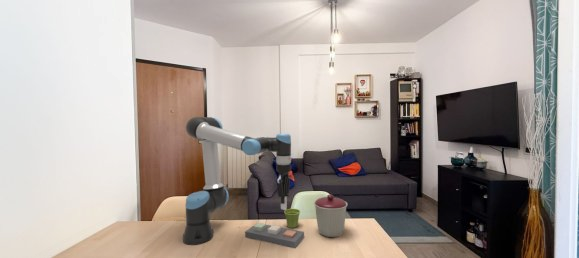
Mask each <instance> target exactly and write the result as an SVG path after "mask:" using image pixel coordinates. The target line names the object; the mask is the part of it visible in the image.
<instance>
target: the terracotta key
mask: <svg viewBox="0 0 579 258" xmlns="http://www.w3.org/2000/svg"><path fill="white" fill-rule="evenodd" d="M295 235H296V231H291V230H287V231H286V232H285V233H284V234H283V236H285V237H290V238H293V237H294V236H295Z"/></svg>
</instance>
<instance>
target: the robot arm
mask: <svg viewBox="0 0 579 258" xmlns="http://www.w3.org/2000/svg"><path fill="white" fill-rule="evenodd" d="M185 131H186V133H187V135H188V136H190V137H191V138H193V139H197V140H198V142H199V143H200V144H201V148H202V150H201V151H202V159H203V160H202V161H203V171H204V182H205V185H204V186H203V188H202V189H203V190H199V191H194V192H193V193H190V194H188V195H187V197H186V198H185V220H186V221H185V222H186V223H185V224H186V225H185V227H184V228H185V229H184V233H183V235H182V242H183V243H184V244H186V245H191V246H193V245H195V246H196V245H200V244H204V243H207V242H209V241H210V240H212V239H213V237H214V230H213V227H212V223H211V221H210V220H211V218H210V214H212V213H213V212H215V211H217V210H219V209H222V208H223V207H224V206H226V205H227V203H228V201H229V198H230V196H229V191H228V190H227V188H226V187H225V185H224V184H223V183H222V182H221V181H222V180H221V169H220V167H221V166H220V159H219V147H218V146H219V145H218V144H220V145H223V146H225V147H229V148H231V149H234V150H235V149H236V150H238V151H241V152H243V153H244V154H245V155H247V156H255V155H259V154H263V153H268V152H269V153H272V152H273V153H276V155H275V156H276V160H275V161H276V162H275V163H276V167H275V168H276V172H277V173H278V178H277V179H275V182H276V187H277V194H278V197H279V198H280V210H283V211H285V210H287V209H288V206H287V205H288V204H287V202H288V201H287V199H288V198H287V197H290V196H289V193H290V185H291V184H290V183H291V178H292V175H290V172H291V171H292V164H291V163H292V138H291V135H290V134H289V133H277V134H276V136H275V137H268V136H267V137H265V136H260V137H259V136H258V137H255V138H254V137H251V136H247V135H244V134H241V133H237V132H234V131H230V130H227V129H223V125H222V122H221V121H220V120H219V119H218V118H216V117H211V116H210V117H209V116H208V117H207V116H206V117H205V116H195V117H191V118H190V119H189V120H187V122H186V125H185Z"/></svg>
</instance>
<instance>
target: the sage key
mask: <svg viewBox="0 0 579 258" xmlns="http://www.w3.org/2000/svg"><path fill="white" fill-rule="evenodd" d="M255 224H256V225H255ZM255 224H253V225H252V226H253V230H255V231H260V232H262V231H263V230H264V229H266V225H267V224H266V223H262V222H256V223H255Z"/></svg>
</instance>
